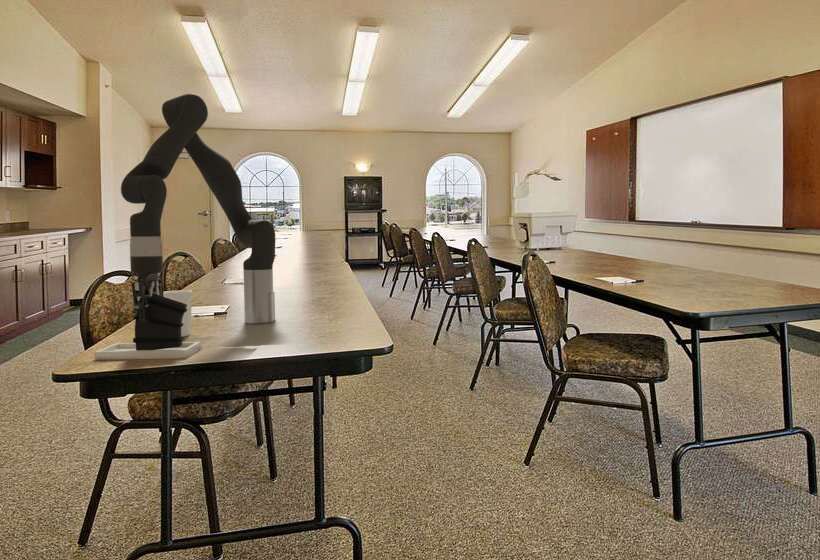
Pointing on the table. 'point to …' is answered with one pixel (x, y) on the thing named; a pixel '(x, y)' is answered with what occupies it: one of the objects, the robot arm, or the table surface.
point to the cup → (186, 298)
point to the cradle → (146, 352)
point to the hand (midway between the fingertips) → (149, 320)
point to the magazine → (160, 325)
